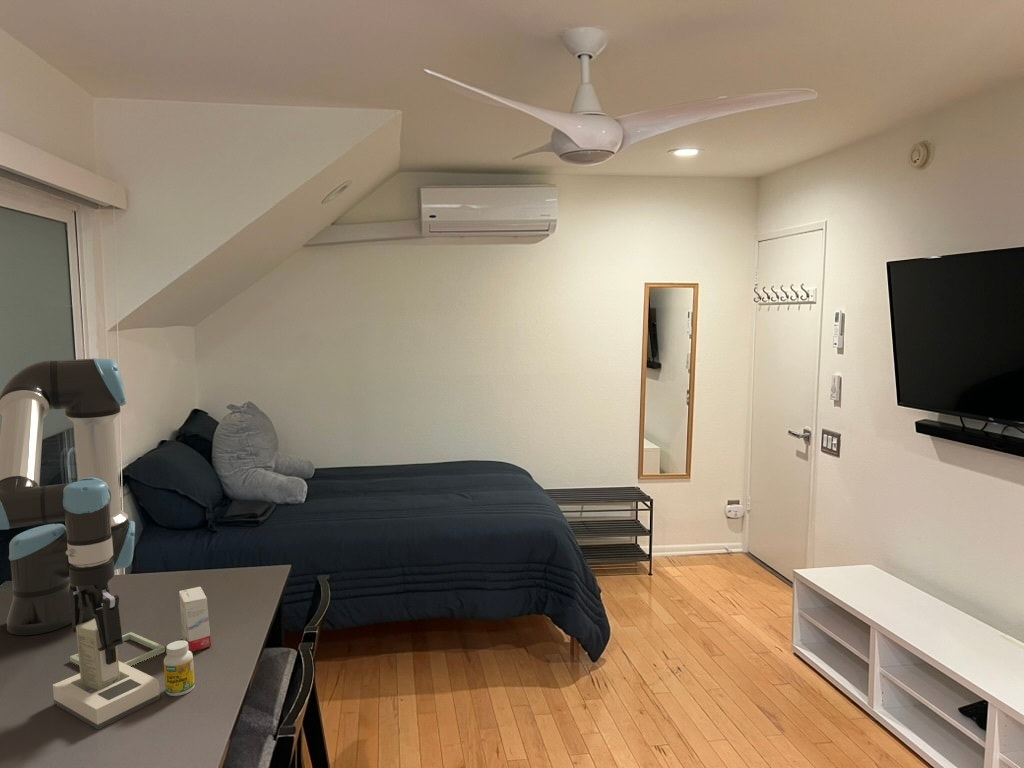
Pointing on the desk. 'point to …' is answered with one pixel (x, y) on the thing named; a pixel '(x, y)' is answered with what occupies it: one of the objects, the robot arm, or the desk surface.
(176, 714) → the desk surface
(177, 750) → the desk surface
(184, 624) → the ink box
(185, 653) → the supplement bottle
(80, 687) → the block
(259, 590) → the desk surface
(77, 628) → the skincare box
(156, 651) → the tray rim
